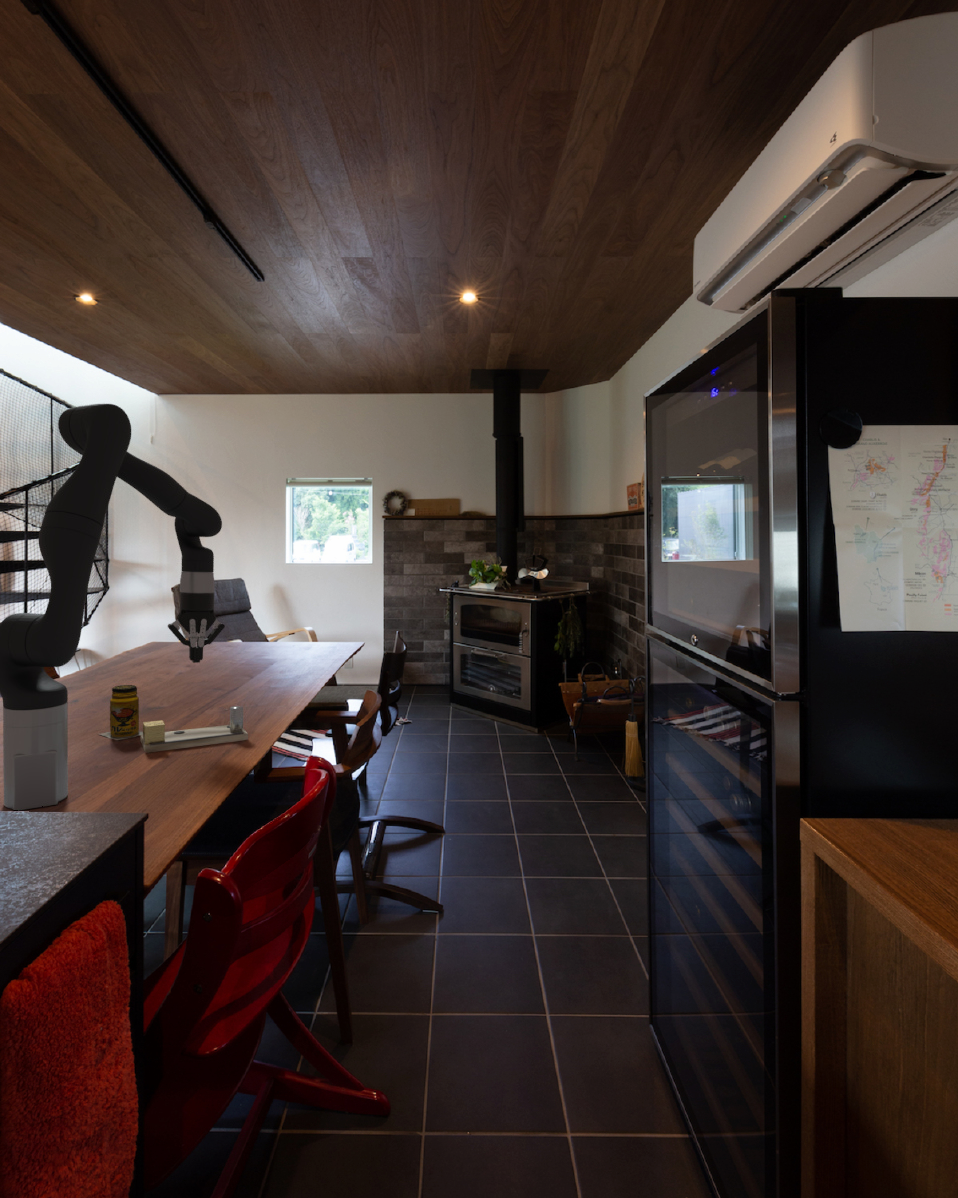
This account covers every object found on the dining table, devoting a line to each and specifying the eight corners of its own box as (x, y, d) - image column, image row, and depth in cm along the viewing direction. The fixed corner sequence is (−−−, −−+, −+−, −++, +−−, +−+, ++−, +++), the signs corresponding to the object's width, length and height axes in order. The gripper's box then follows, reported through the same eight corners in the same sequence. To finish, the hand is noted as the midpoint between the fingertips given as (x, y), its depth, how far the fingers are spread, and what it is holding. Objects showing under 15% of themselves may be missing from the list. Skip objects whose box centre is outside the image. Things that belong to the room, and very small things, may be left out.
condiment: (118, 741, 143) (118, 690, 142) (97, 735, 147) (98, 686, 146) (147, 734, 149) (148, 686, 149) (127, 728, 153) (128, 681, 153)
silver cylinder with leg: (244, 732, 148) (244, 708, 148) (231, 734, 147) (231, 709, 146) (237, 726, 154) (238, 702, 153) (225, 727, 152) (225, 703, 152)
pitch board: (247, 739, 147) (247, 732, 147) (145, 752, 135) (145, 745, 135) (238, 729, 156) (238, 722, 156) (140, 741, 143) (140, 733, 143)
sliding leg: (164, 741, 138) (164, 724, 138) (144, 744, 136) (144, 726, 136) (160, 734, 144) (160, 717, 144) (141, 736, 142) (141, 719, 141)
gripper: (168, 591, 139) (167, 666, 140) (229, 591, 146) (228, 663, 147) (164, 589, 145) (163, 661, 146) (223, 590, 152) (221, 658, 153)
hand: (196, 662), depth 146 cm, fingers closed
